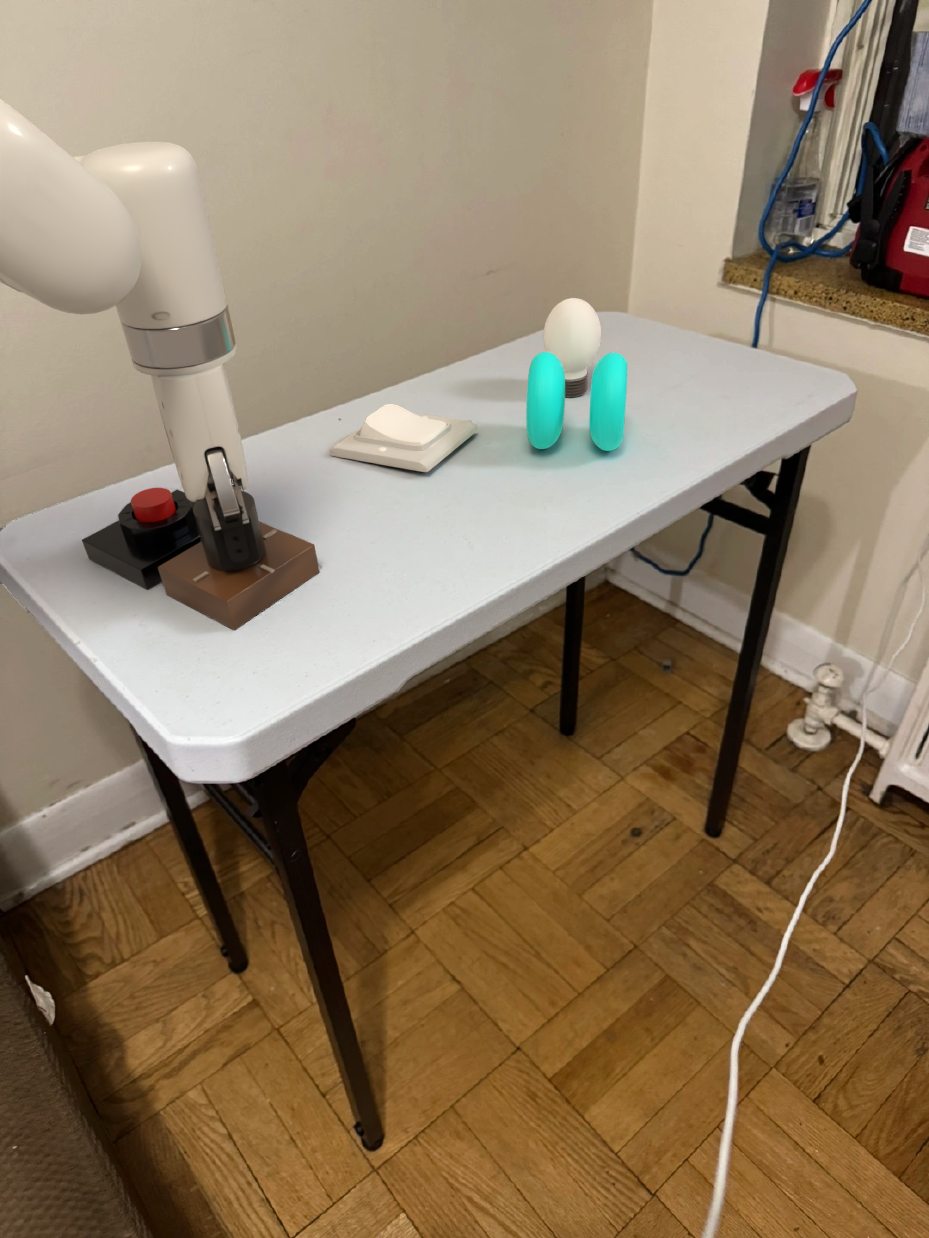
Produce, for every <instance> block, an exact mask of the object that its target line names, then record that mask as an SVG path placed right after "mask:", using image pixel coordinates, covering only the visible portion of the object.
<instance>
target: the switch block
mask: <svg viewBox="0 0 929 1238" xmlns="http://www.w3.org/2000/svg"><path fill="white" fill-rule="evenodd" d="M170 492H171V494H172V498H173V501H174V504H175V508H176V512H175V513H174V514H173V515H171V516H169V517H167V518H166V519H164V520H160V521H155V522H139V521H137V519H136V517H135V514H134V511H133V508H132V505H131V501H130V502H129V503H127V504H125V505H124V506H123V508H122V509H121V510H120V511H119V512H118V514H117V518H118V520H116V521H115V522H112V523H111V524H108V525H107V526H104V527H103V528H101V529H99V530H97V531H96V532H93V533H92V534H89V535H88V536H86V537H84V538H81V542H82V545H83V546H84V550H85V553H86V555H87V558H88V559H89V560H90V561H92V562H93V563H95V564H97V565H98V566H99V565H100V566H101V567H103V568H105V569H107V570H109V571H111V572H112V573H114V574H117V575H118V576H120V577H122V578H124V579H125V580H128V581H129V582H131V583H133V584H135V585H137V586H139V587H141V588H143V589H145V590H146V591H148V590H150V589H152V588H153V587H155V586H157V585H159V584H160V583H163V582H162V579H161V576H160V573H159V570H158V567H159V566H160V565H162V564H164V563H165V562H167V561H169V560H171V559H172V558H174V557H176V556H177V555H179V554H181V553H183V552H184V551H186V550H188V549H189V548H191V547H193V546H195V545H196V544H198V543H200V542H201V537H200V534H199V530H198V527H197V523H196V520H195V516H194V512H193V509H194V506H195V504H196V503H197V502H198V501H199V500H200V499H198V500H196V501H197V502H192V501H190V500H188V499H187V498H186V496H185V493H184V491H182V490H179V489H175V490H173V491H170Z"/></svg>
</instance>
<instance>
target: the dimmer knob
mask: <svg viewBox="0 0 929 1238" xmlns="http://www.w3.org/2000/svg"><path fill="white" fill-rule="evenodd" d="M241 492H242V496H243V500H244V504H245V507H246V511H247V515H248V517H250V519H251V522H252V527H253V531H254V535H255V539H256V544H257V548H258V552H259V556H260V558H259V560H258V561H256V562H253V563H249V564H245V565H241V566H237V567H234V568H230V569H223V568H222V567H221V565H220V561H219V558H218V554H217V550H216V546H215V543H214V539H213V535H212V532H211V528H210V526H213V522H212V519H211V515H210V512H209V508H208V505H207V501H206V498H205V497H204V498H203V499H201V500H199V501H198V502H197V503H196V504H195V506H194V509H193V512H194V516H195V520H196V523H197V527H198V530H199V534H200V537H201V541H202V544H203V548H204V551H205V555H206V559H207V562H208V564H209V565H210V566H211V567H212V568H214V569H217V570H221V571H237V570H242V569H245V568H248V567H250V566H253V565H254V564H256V563H258V562H259V561H260V560H261V559H262V558H263V556H264V555H265V551H266V549H265V544H264V540H263V536H262V531H261V527H260V523H259V521H260V519H259V514H258V509H257V506H256V501H255V498H254V496H253V495H252V494H251V493H249V492H247V491H245V490H244V491H243V490H241ZM214 503H215V507H216V510H217V507H220V503H219V499H214Z"/></svg>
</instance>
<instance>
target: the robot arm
mask: <svg viewBox="0 0 929 1238" xmlns="http://www.w3.org/2000/svg"><path fill="white" fill-rule="evenodd" d="M0 283H1V284H3V285H5V286H7V287H9V288H11V289H13V290H15V291H16V292H19V293H23V294H24V295H27V296H28V297H31V298H32V299H34V300H36V301H37V302H40V303H41V304H43V305H45V306H47V307H49V308H51V309H54V310H56V311H60V312H62V313H65V314H75V315H92V314H98V313H102V312H106V311H109V310H110V309H111V308H114V307H115V309H116V311H117V314H118V318H119V320H120V325H121V327H122V332H123V335H124V338H125V341H126V345H127V348H128V351H129V355H130V358H131V361H132V365H133V368H134V369H135V370H136V371H137V372H140V373H141V374H144V375H148V376H150V378H151V380H152V381H151V382H152V386H153V390H154V394H155V399H156V402H157V406H158V409H159V413H160V416H161V420H162V424H163V427H164V432H165V434H166V437H167V441H168V444H169V448H170V451H171V455H172V458H173V461H174V465H175V468H176V471H177V474H178V478H179V481H180V484H181V488H182V490H183V492H184V493H185V496H186V498H187V499H188V500H190V501H192V502H197V501H196V500H198V499H200V500H201V499H203V498H204V497H205V498H206V501H207V505H208V508H209V512H210V515H211V519H212V522H213V526H210V528H211V532H212V535H213V539H214V543H215V546H216V550H217V554H218V558H219V561H220V565H221V567H222V568H223V569H230V568H234V567H237V566H241V565H245V564H249V563H253V562H256V561H258V560H259V558H260V556H259V552H258V548H257V544H256V539H255V535H254V531H253V527H252V522H251V519H250V517H248V515H247V511H246V507H245V504H244V500H243V496H242V492H241V491H244V492H245V490H246V489H247V488H248V486H249V484H250V481H249V475H248V469H247V463H246V458H245V457H246V456H245V451H244V448H243V442H242V437H241V432H240V428H239V421H238V418H237V413H236V408H235V404H234V399H233V395H232V391H231V386H230V381H229V378H228V373H227V370H226V369H227V368H226V365H225V364H226V363H228V362H229V361H230V360H232V359H233V358H234V357H235V356H236V355H237V352H238V347H237V342H236V337H235V332H234V328H233V323H232V318H231V314H230V310H229V304H228V301H227V296H226V292H225V287H224V286H225V285H224V282H223V277H222V272H221V267H220V263H219V259H218V254H217V249H216V245H215V239H214V236H213V231H212V226H211V223H210V218H209V212H208V208H207V204H206V199H205V194H204V189H203V185H202V179H201V177H200V173H199V168H198V166H197V163H196V161H195V159H194V158H193V155H192V154H191V153H190V152H189V151H188V150H187V149H185V148H184V147H183V146H181V145H179V144H176V143H173V142H167V141H136V142H127V143H120V144H115V145H114V144H113V145H109V146H106V147H102V148H98V149H96V150H93V151H92V152H90V153H88V154H85V155H75V156H73V155H71V154H70V153H69V152H67V150H65V149H64V148H63V147H61V146H60V145H59V144H58V143H56V142H55V141H54V140H53V139H52V138H51V137H50V136H48V135H47V134H46V133H44V131H42V130H40V128H39V127H37V126H36V125H35V124H34V123H32V122H31V121H30V120H29V119H27V118H26V117H25V116H24V115H22V114H21V113H20V112H19V111H17V110H16V109H15V108H14V107H12V106H11V105H9V103H7V102H6V101H5V100H3V98H1V97H0ZM214 499H219V503H220V507H217V510H216V507H215V503H214Z"/></svg>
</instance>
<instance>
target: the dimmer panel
mask: <svg viewBox="0 0 929 1238" xmlns="http://www.w3.org/2000/svg"><path fill="white" fill-rule="evenodd" d="M259 523H260V527H261V531H262V536H263V540H264V544H265V549H266V551H265V555H264V556H263V558H262V559H261V560H260V561H259V562H258V563H256V564H254V565H253V566H250V567H248V568H245V569H242V570H237V571H221V570H217V569H214V568H212V567H211V566H210V565H209V564H208V562H207V559H206V555H205V551H204V548H203V544H202V541H201V542H200V543H198V544H196V545H195V546H193V547H191V548H189V549H188V550H186V551H184V552H183V553H181V554H179V555H177V556H176V557H174V558H172V559H171V560H169V561H167V562H165V563H164V564H162V565H160V566H159V567H158V570H159V573H160V576H161V579H162V582H161V583H162V585H163V589H164V591H165V594H166V596H168V597H170V598H171V599H173V600H175V601H178V602H180V603H181V604H183V605H185V606H187V607H189V608H190V609H192V610H194V611H197V612H198V613H200V614H202V615H203V616H206V617H208V618H209V619H212V620H214V621H215V622H218V623H219V624H220V625H223V626H225V627H227V628H229V629H230V630H233V631H236V630H237V629H239V628H240V627H242V626H243V625H245V624H246V623H248V622H249V621H250V620H252V619H254V618H255V617H256V616H258V615H260V614H261V613H262V612H264V611H265V610H266V609H267V610H268V608H270V607H271V606H273V605H274V604H275V603H277V602H279V601H280V600H281V599H283V598H284V597H286V596H288V594H290V593H291V592H293V591H295V590H296V589H297V588H299V587H300V586H302V585H303V584H304V583H306V582H308V581H309V580H310V579H312V578H313V577H315V576H316V575H318V574H319V573H320V567H319V562H318V561H319V560H318V557H317V551H316V546H315V544H314V543H312V542H309V541H308V540H305V539H303V538H300V537H298V536H296V535H293V534H291V533H288V532H286V531H283V530H281V529H279V528H276V527H274V526H272V525H269V524H267V523H264V522H262V521H260V520H259Z"/></svg>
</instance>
